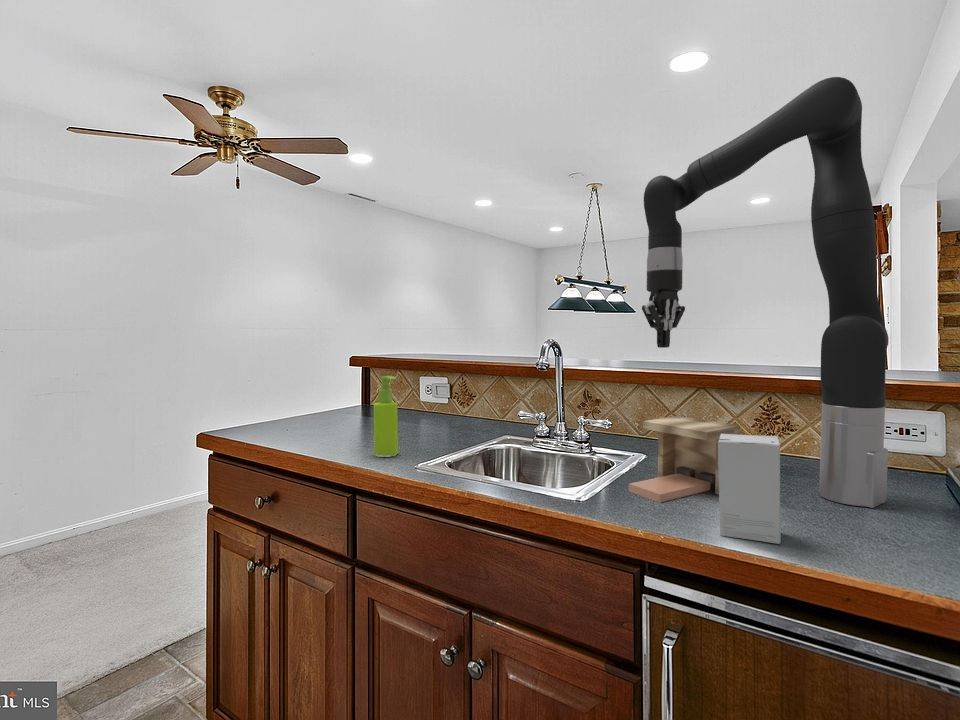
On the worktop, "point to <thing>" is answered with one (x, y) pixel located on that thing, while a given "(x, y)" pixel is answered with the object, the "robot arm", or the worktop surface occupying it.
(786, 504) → the worktop surface
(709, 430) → the shelf
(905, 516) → the worktop surface
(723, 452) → the skincare box
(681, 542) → the worktop surface
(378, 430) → the soap dispenser
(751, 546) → the worktop surface
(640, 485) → the tile
